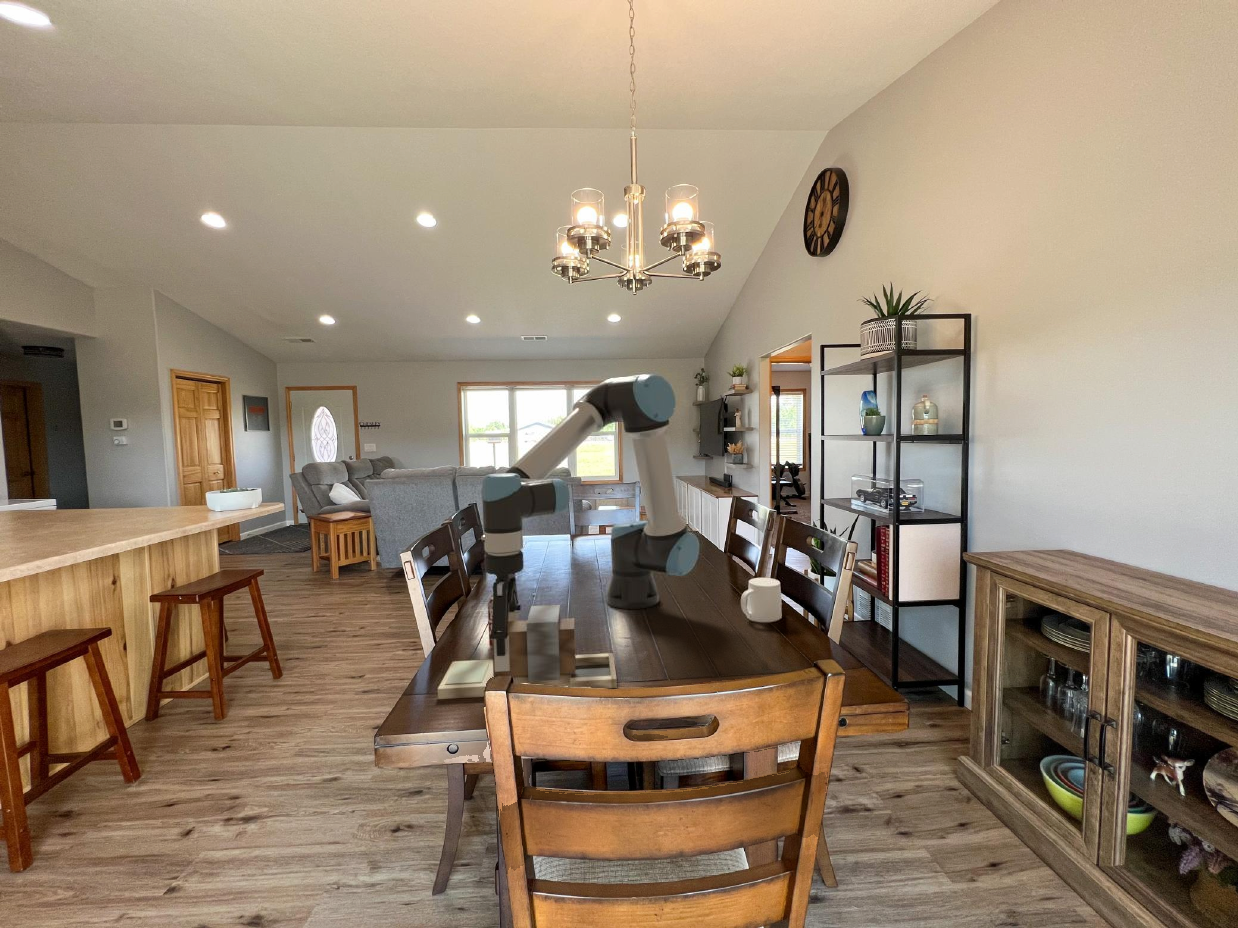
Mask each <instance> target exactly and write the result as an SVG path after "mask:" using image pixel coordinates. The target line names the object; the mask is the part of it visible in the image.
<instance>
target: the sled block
mask: <svg viewBox="0 0 1238 928" xmlns="http://www.w3.org/2000/svg"><path fill="white" fill-rule="evenodd" d="M527 620H528V619H527ZM527 620H525V619H524V620H518V621H508V633H507V634H508V636H509V657H510V671H499V672H495V662H494V639H492V647H491V651H492V652H491V653H492V659H493V676H494V677H497V676H511V677H515V676H528V653H527V626H526V623H527ZM575 623H576V622H575V617H573V618H572V617H569V618H568V617H567V618H560V619H559V623H558V633H559V664H560V674H570V673H575V667H576V655H577V654H576V628H575V627H576V626H575V625H576V624H575ZM497 632H502V631H497Z"/></svg>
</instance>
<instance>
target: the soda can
mask: <svg viewBox="0 0 1238 928" xmlns="http://www.w3.org/2000/svg"><path fill="white" fill-rule="evenodd" d="M515 612H517V615H518V614H519V610H517V611H515ZM492 616H493V594H491V595H490V596H489V601H488V603H487V619H488V620H487V621H488V636H489V635H491V634H492ZM518 616H519V615H518ZM488 643H489V644H488V645H489V647H490V648H492V639H489V638H488Z"/></svg>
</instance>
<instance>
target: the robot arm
mask: <svg viewBox="0 0 1238 928" xmlns="http://www.w3.org/2000/svg"><path fill="white" fill-rule="evenodd" d="M675 396H676V395H675V392H674V389H673V387H672V385H671V383H670V382H669V381H668V380H666V379H665V378H664V376H661V375H659V374H654V373H652V374H651V373H650V374H646V373H642V374H635V375H629V376H621V377H619V376H618V377H611V378H608V379H606V380H604V381H602V382H600V383H598V384H597V385H596V386H594V387H593V388H591V389H590V390H588V392H586V393H584V394H583V396H582V397H580V398H579V399H578V400H577V401H576V402H575V403H574V404H573V406H572V410H571V412H570V413H568V414H567V416H565V417H564V418H563V419H562V420H561V421H559V423H557V425H555V426H554V427H553V428H552V429H551V430H550V431H549V432H547V434H546V435H545V436H543V437H542V438H541V439H540V440H539V441H538V442H537V443H535V445H533V446H532V447H531V448H530V449H529V450H528V451H527V452H526V453H525V454H524V455H523V456H522V457H520V458H519V459H518V460H517V461H516V462H515V463H514V464H513V465H511V467H510V468H508V469H507V470H505V472H504V473H503V472H502V473H491V474H487V475H485V476H484V477H483V479H482V483H481V484H482V486H481V490H480V491H481V492H480V495H481V502H482V504H481V505H482V519H483V520H482V522H483V535H481V537H480V539H481V540H482V541H484V545H483V546H484V551H485V552H486V553H485V555H484V571H485V572H486V573H487V574H489V575H495V576H496V579H495V581H494V582H493V585H492V595H493V616H492V634H491V635H489V634H488V640H489V639H494V662H495V672H499V671H510V657H509V636H508V634H507V633H508V621H519V615H517V612H515V611H517V610H518V611H521V607H522V606H521V604H519V601H520V600H519V597H518V590H517V589H518V588H517V578H516V574H517V573H520V572H521V571H523V570H524V552H523V551H522V550H523V548H524V536H523V535H524V534H523V533H524V531H523V519H528V518H535V517H536V518H537V517H542V516H548V515H551V516H552V515H555V514H558V513H562V512H563V511H566V509H568V507H569V504H570V502H571V498H570V497H571V495H570V494H571V491H570V488H569V486H568V485H567V482H565V481H564V480H562V479H560V478H547V477H548V476H550V475H551V473H552V472H553V471H554V470H556V469H557V468H558V467H559V466H560V465H561V464H562V463H563V462H564V461H565V460H566V459H567V458H568V457H569V456H570V455H571V454H572V453H573V452H574V451H575V450H576V449H578V447H579V446H580V445H581V444H583V442H585V441H586V439H587V438H589V437H590V436H591V435H592V434H593V433H598V432H600V431H601V430H603V428H604V427H606V426H608V425H610V424H613V423H622V425H623V429H624V433H625V434H626V435H628V436H629V437H630V438H631V440H632V444H633V451H634V455H635V456H634V457H635V461H636V466H637V467H636V468H637V471H638V476H639V477H638V478H639V483H640V487H641V493H642V498H643V503H644V508H645V514H646V515H645V516H646V520H635V521H628V522H627V521H626V522H621V523H617V524H614V525H613V526H612V528H611V534H610V552H611V556H610V557H611V578H610V582H609V585H608V587H607V588H608V589H607V591H606V603H607V604H608V605H610V606H611V607H614V608H618V609H624V610H640V609H647V608H651V607H654V606H655V605H657V604H658V603H659V601H660V599H659V597H660V595H659V589H658V587H657V584H656V581H655V579H654V576H653V572H657V573H662V574H667V575H669V576H677V577H678V576H679V577H681V576H685V575H687V574H689V573H690V572H691V571H692V570H693V568H694V566H695V565H696V563H697V562H698V561H697V560H698V558H699V553H700V542H699V539H698V537H697V536H696V534H695V533H692V532H689V530H688V525H687V521H686V519H685V520H684V519H683V518H682V517H680V512H679V506H678V500H677V495H676V489H675V483H674V477H673V471H672V465H671V461H670V454H669V449H668V448H669V447H668V442H667V436H666V430H667V428H669V426H670V419H671V418H672V417H673V415H674V413H675V409H674V408H676V397H675ZM497 631H502V632H497Z"/></svg>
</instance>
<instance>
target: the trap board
mask: <svg viewBox="0 0 1238 928" xmlns="http://www.w3.org/2000/svg"><path fill="white" fill-rule="evenodd" d="M559 619H561V605H560V604H553V605H552V604H550V605H531V606H530V610H529V613H528V616H527V623H526V626H527V653H528V676H515V677H512V678H513V680H514V683H531V684H545V685H553V686H568V687H591V688H617V689H618V687H617V685H618V682H617V680H618V679H617V673H616V666H615V658H614V652H611V653H610V652H608V653H607V652H606V653H591V654H587V653H586V654H576V667H575V673H570V674H560V664H559V633H558V623H559ZM492 677H494V676H493V658H492V659H479V660H477V659H476V660H475V659H474V660H473V659H472V660H458V661H456V660H455V661H452V662H451V663H450V665H449V668H448V669H447V671H446V673H445V675H444V677H443V679H442V680H441V681H440V684H439V686H438V687H437V699H438V700H446V699H447V700H448V699H461V698H462V699H463V698H480V697H481V698H483V697H484V690H485V687H486V683H487V681H488V680H489V679H490V678H492Z"/></svg>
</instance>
